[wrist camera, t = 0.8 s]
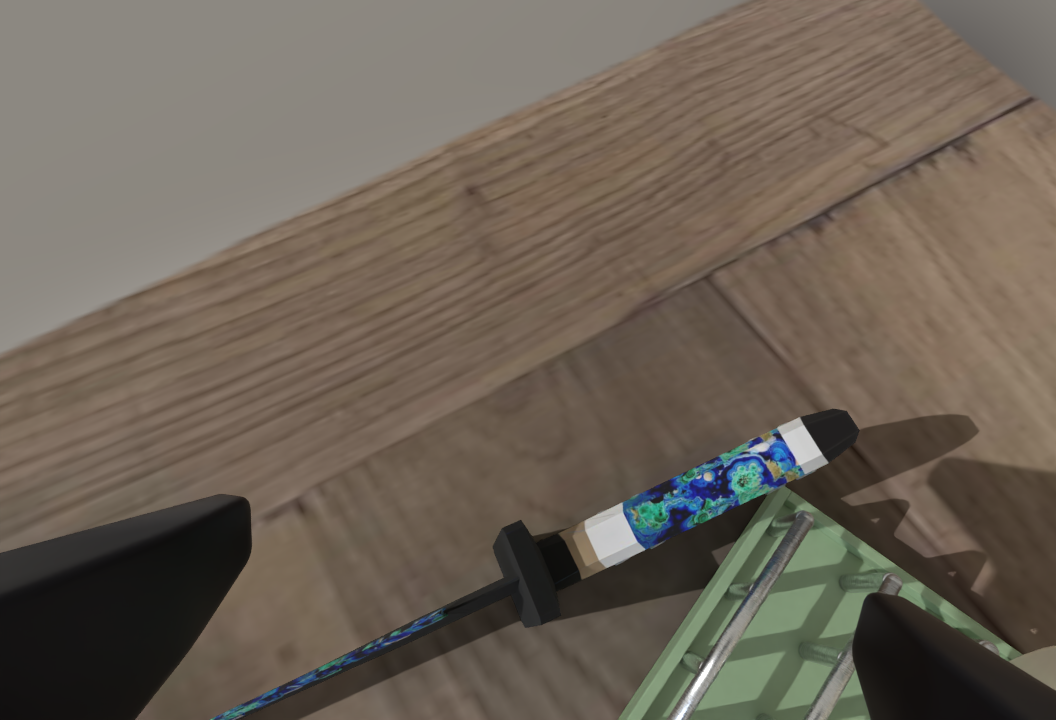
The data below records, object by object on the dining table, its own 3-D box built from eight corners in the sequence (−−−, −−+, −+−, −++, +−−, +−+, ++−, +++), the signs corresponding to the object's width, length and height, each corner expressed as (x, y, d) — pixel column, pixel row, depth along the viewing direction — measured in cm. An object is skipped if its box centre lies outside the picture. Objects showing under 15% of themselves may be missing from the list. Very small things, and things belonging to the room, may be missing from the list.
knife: (807, 421, 23) (849, 388, 18) (851, 497, 21) (906, 480, 17) (72, 715, 23) (-50, 747, 19) (77, 804, 22) (-51, 858, 18)
